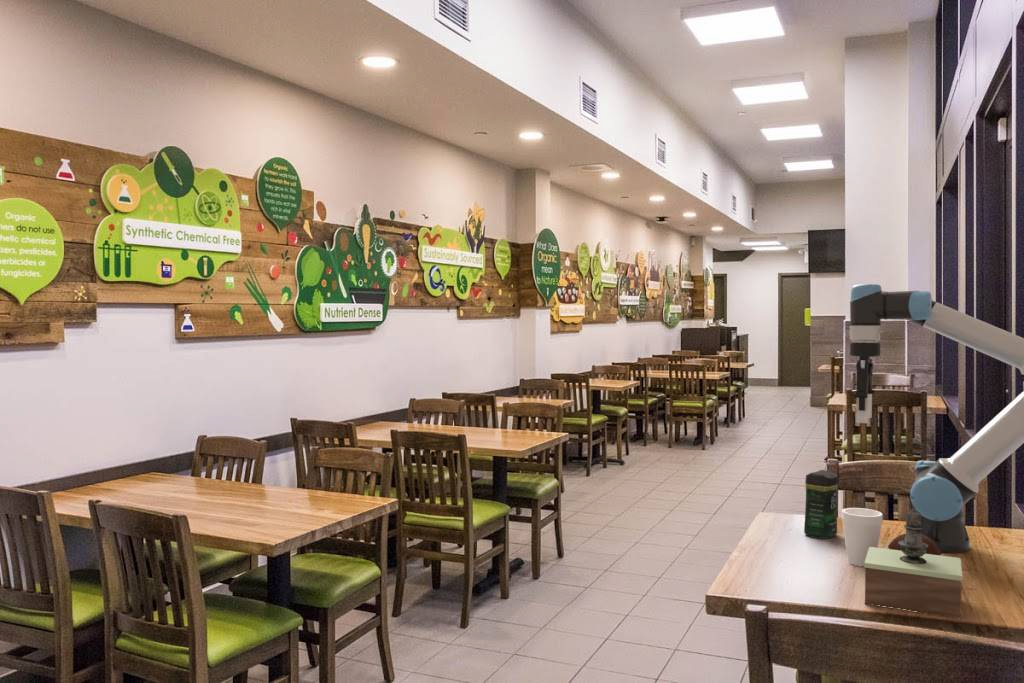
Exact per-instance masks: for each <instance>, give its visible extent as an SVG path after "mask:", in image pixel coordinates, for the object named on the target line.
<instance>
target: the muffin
mask: <svg viewBox="0 0 1024 683" xmlns="http://www.w3.org/2000/svg"><path fill="white" fill-rule="evenodd" d="M905 536H906V533H902V534H901V535H900V534H899V535H898V536H896V537H895V538H893V539H892V541H890V543H889V544H888V545H887V547H888V549H892V550H900V551H901V549H900V545H899V544H898V542H899V541H903V540H904V539H905ZM921 539H922V542H923V543H925V544H927V545H928V548H927V551H926V553H925V554H932V555H939V556H941V554H942V553H943V552H941V551H940V549H939V547H938V546H937V545H936V544H935V542H934V541H933V540H932V539H930V538H929V537H927V536H925V535H921Z"/></svg>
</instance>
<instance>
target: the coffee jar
mask: <svg viewBox="0 0 1024 683" xmlns="http://www.w3.org/2000/svg"><path fill="white" fill-rule="evenodd" d="M838 478H839V476H838V474H837V473H835V471H832V470H827V469H826V470H825V469H820V470H818V471H813V472H810V473H807V474H806V475H805V482H804V483H805V484H804V485H805V510H804V512H805V513H804V530H803V531H804V534H805V535H807V536H809V537H811V536H813V537H812V538H814V537H817V538H816V539H819V538H820V539H823V538H824V539H830V538H832V537H834V536H836V535H837V533H838V515H837V514H838V512H837V511H838V510H837V508H838V501H837V500H838V487H839V479H838Z"/></svg>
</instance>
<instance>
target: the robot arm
mask: <svg viewBox="0 0 1024 683" xmlns="http://www.w3.org/2000/svg"><path fill="white" fill-rule="evenodd" d="M849 305H850V306H849V313H850V318H849V319H850V321H849V322H850V323H849V340H850V341H852V342H850V343H849V355H850V356H851V357H859V360H857V362H856V364H855V365H856V367H855V368H856V389H855V390H856V392H855V393H854V394H853V399H856V408H855V409H856V411H855V412H856V414H855V416H856V417H855V418H856V419H855V420H856V421H855V423H857V424H868V423H869V419H872V416H873V415H872V413H873V412H872V410H873V403H872V402H873V395H875V392H876V391H875V389H873V374H874V373H873V370H874V363H873V360H872V358H874V357H879V356H881V343H880V340H881V334H882V333H884V331H883V329H881V326H882V325H881V321H882V320H885V321H886V320H895V321H897V320H898V321H899V320H901V321H903V320H905V321H909V322H911V323H913V324H915V325H917V326H920V327H923V328H925V329H927V330H930V331H931V332H934V333H936V334H938V335H941V336H944V337H945V338H948V339H951V340H952V341H955V342H958V343H960V344H961V345H964V346H967V348H968V347H969V348H971V349H973V350H976V351H978V352H980V353H982V354H984V355H987V356H989V357H990V358H991V357H992V358H994V359H996V360H998V361H1000V362H1002V363H1005V364H1008V365H1010V366H1011V367H1015V368H1016V369H1019V371H1020V374H1021V375H1023V376H1024V337H1021V336H1019V335H1018V334H1017V335H1016V334H1014V333H1012V332H1010V331H1007V330H1005V329H1002V328H999V327H997V326H995V325H992V324H990V323H988V322H986V321H983V320H980V319H978V318H975V317H973V316H970V315H969V314H966V313H964V312H961V311H959V310H957V309H955V308H954V309H953V308H952V307H949V306H946V305H945V304H942V303H940V302H936V301H935V300H932V292H930V291H928V290H907V291H906V290H901V291H884V290H883V289H882V286H881V285H880V284H876V283H875V284H869V283H867V284H855V285H853V286H852V287H851V291H850V300H849ZM871 357H872V358H871ZM1022 386H1023V391H1022V392H1020V393H1019V394H1018V395H1017V396H1016V397H1015V398H1014V399H1013V400H1012V401H1010V403H1008V404H1007V405H1006V406H1005V407H1004V408H1003V409H1002V410H1001V411H999V413H997V414H996V415H995V416H994V417H993V418H991V420H989V422H988V423H986V424H985V425H984V426H983V427H982V428H981V429H980V430H979V431H978V432H977V433H975V435H973V436H972V437H971V438H970V439H969V440H968V441H967V442H966V443H965V444H963V445H962V447H960V448H959V449H958V450H957V451H956V452H954V454H952V455H951V456H950V457H947V458H943V457H940V458H938V459H937V460H936V461H935V460H933V461H932V460H917V461H916V462H915V467H914V472H915V473H914V474H915V477H914V478H915V479H914V481H913V483H912V485H911V487H910V490H909V497H910V501H911V505H912V507H913V506H914V507H915V510H917V511H919V512H920V513H921V527H923V529H921V535H925V536H927V537H929V538H930V539H932V540H933V541H934V542H935V544H936V545H937V546H938V547H939V549H940V551H941V552H942V553H963V552H968V551H970V549H971V540H970V537H969V534H968V531H967V528H966V525H965V522H964V505H965V504H967V502H969V501H970V500H972V498H973V497H975V496H976V495H977V494H978V493H979V492H980V491H979V483H980V482H981V481H982V480H984V479H985V478H986V477H987V476H988V475H989V474H991V473H992V472H993V471H994V470H995V469H996V468H997V467H998V466H999V465H1001V463H1003V462H1004V461H1006V459H1008V457H1010V456H1011V455H1012V454H1013V453H1014V452H1015V451H1016V450H1018V449H1019V448H1020V447H1021V446H1022V445H1023V444H1024V381H1022Z"/></svg>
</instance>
